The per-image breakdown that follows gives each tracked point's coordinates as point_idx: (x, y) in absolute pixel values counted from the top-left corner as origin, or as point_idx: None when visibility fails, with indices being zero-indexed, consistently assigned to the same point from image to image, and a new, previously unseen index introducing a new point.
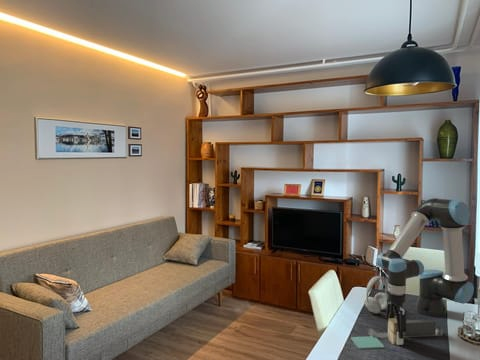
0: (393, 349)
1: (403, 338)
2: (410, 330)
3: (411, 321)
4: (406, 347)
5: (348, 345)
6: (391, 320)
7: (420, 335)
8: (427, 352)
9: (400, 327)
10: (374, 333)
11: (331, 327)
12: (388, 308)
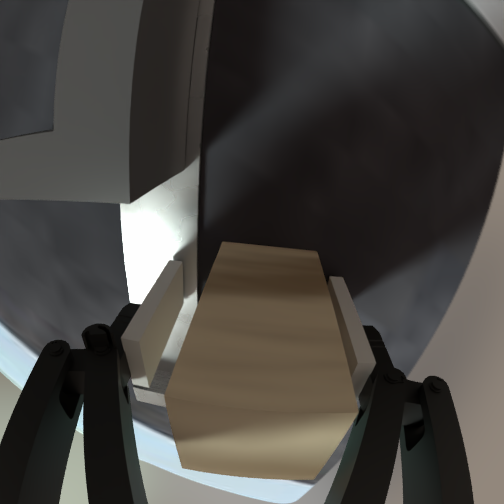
0: None
1: (322, 276)
2: (171, 98)
3: (89, 58)
4: (373, 265)
5: None
6: (242, 474)
7: (208, 12)
8: (472, 162)
9: (410, 448)
10: None
11: None
12: (57, 496)
